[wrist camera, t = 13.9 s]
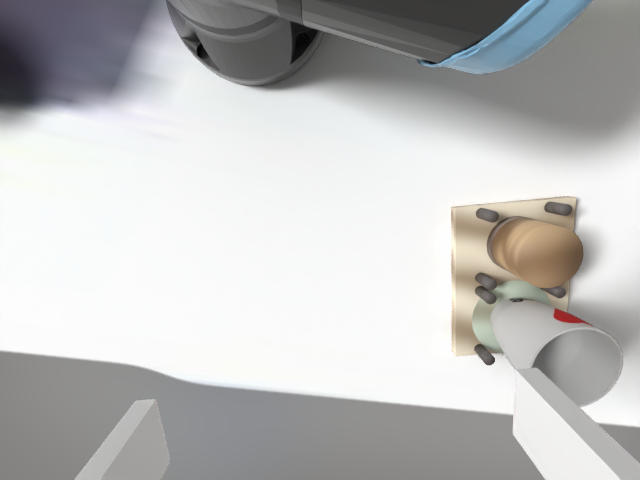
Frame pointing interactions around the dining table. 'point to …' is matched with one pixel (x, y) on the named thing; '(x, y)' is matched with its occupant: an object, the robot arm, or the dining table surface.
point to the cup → (558, 348)
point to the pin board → (494, 270)
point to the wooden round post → (535, 251)
